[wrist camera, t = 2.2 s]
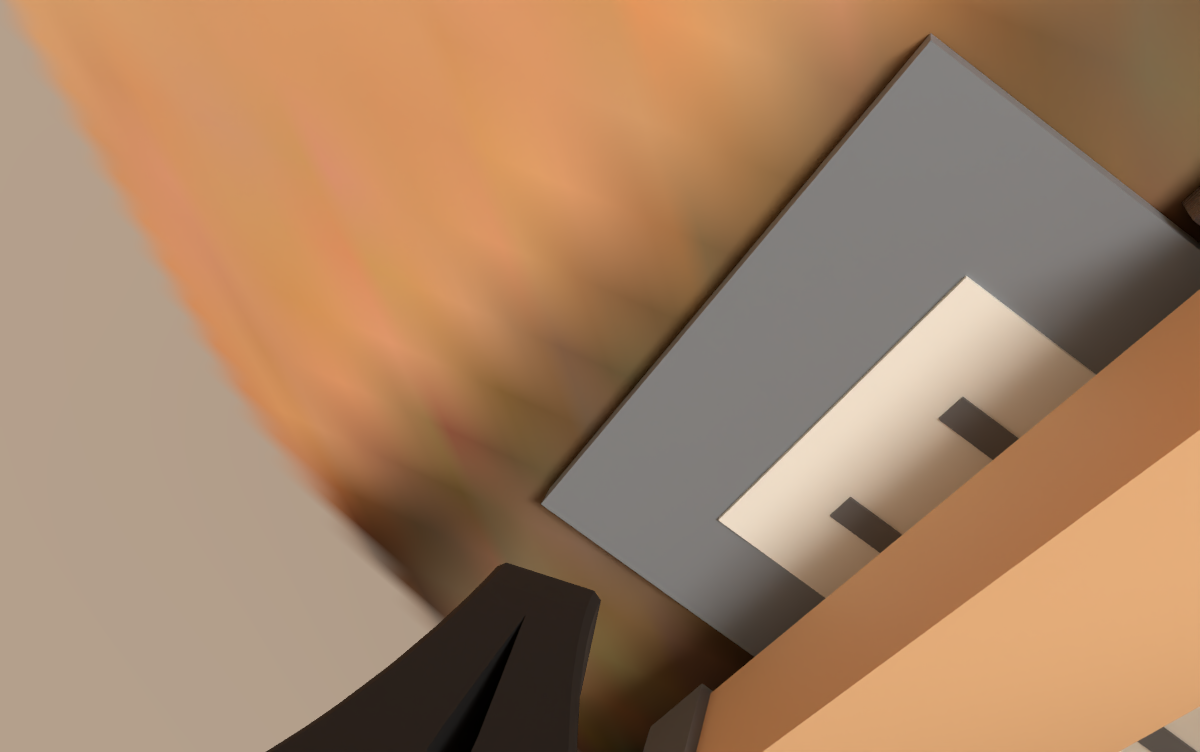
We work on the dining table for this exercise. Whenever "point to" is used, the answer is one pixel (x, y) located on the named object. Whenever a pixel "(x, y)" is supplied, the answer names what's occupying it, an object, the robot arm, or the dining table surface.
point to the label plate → (877, 355)
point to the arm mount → (1193, 205)
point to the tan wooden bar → (1008, 596)
